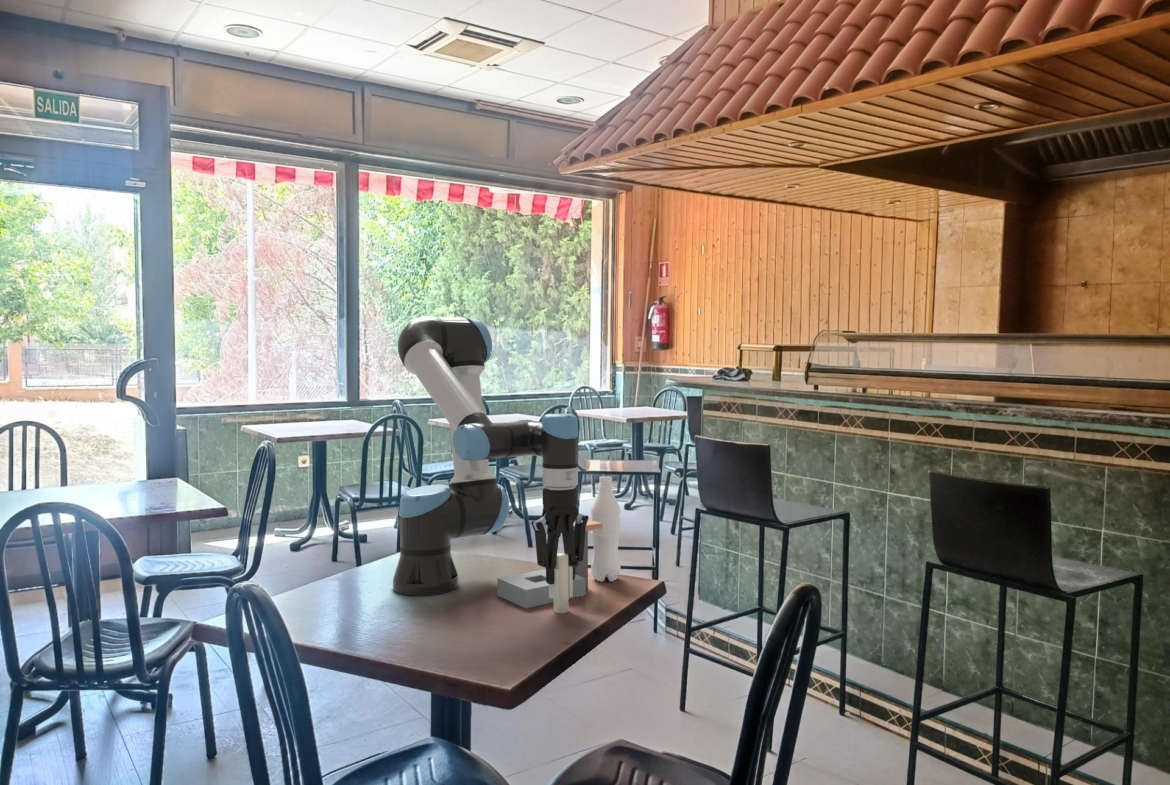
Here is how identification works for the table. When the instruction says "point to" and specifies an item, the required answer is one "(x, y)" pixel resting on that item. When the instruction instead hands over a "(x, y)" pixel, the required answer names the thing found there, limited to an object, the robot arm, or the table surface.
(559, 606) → the peg
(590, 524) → the wooden topped pedestal
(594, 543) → the water bottle
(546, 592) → the socket block
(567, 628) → the table surface
